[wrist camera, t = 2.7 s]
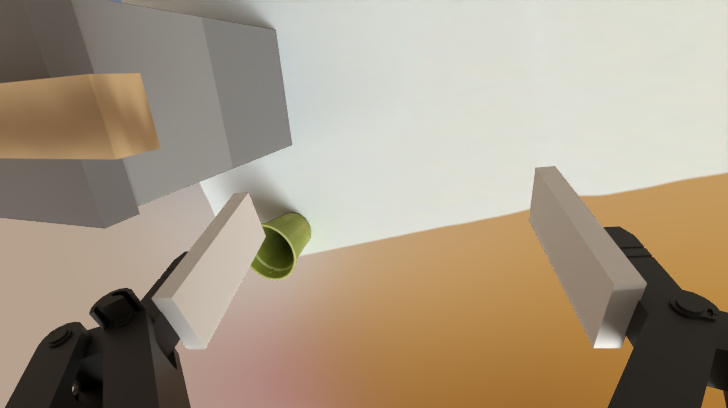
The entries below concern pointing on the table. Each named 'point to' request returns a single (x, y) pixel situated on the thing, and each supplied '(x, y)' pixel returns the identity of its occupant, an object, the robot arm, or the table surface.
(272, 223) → the plant pot
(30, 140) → the oak slat
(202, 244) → the robot arm
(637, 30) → the table surface
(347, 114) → the table surface
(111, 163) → the grey box
